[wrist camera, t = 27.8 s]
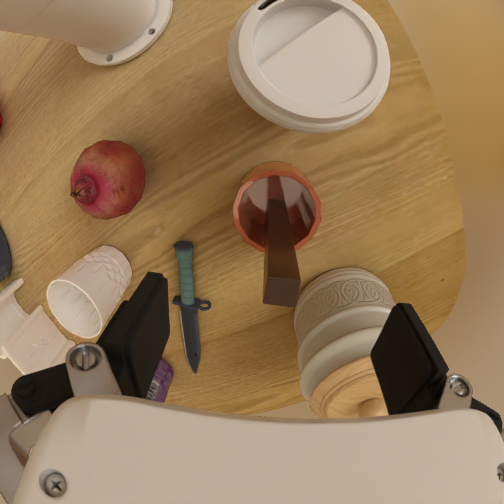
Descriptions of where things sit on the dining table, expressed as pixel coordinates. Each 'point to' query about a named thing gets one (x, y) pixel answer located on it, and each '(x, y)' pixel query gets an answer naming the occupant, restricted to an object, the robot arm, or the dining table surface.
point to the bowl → (4, 258)
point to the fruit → (108, 179)
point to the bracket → (29, 335)
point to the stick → (279, 258)
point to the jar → (341, 343)
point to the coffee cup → (309, 63)
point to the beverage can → (160, 382)
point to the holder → (278, 188)
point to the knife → (188, 303)
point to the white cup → (89, 291)
